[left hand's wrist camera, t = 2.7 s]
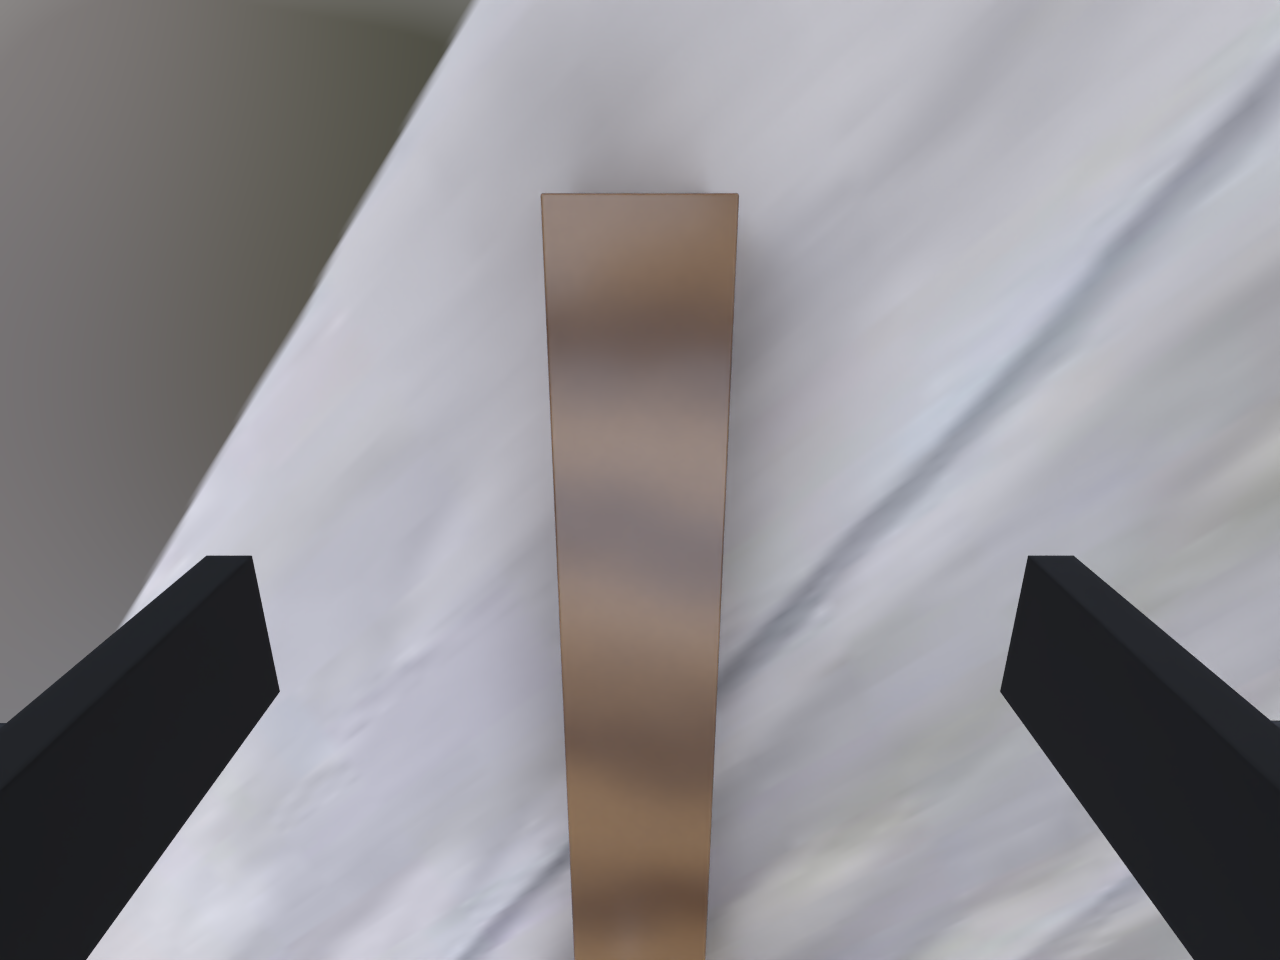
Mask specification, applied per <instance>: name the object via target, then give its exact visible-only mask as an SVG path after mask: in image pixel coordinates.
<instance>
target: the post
mask: <svg viewBox="0 0 1280 960" xmlns="http://www.w3.org/2000/svg"><path fill="white" fill-rule="evenodd" d="M738 206H739V194H737V193H542V194H541V213H542V236H543V258H544V281H545V304H546V326H547V349H548V372H549V394H550V417H551V440H552V462H553V485H554V508H555V530H556V553H557V575H558V598H559V621H560V643H561V666H562V689H563V711H564V734H565V757H566V779H567V802H568V825H569V847H570V870H571V893H572V915H573V938H574V960H705V956H706V933H707V911H708V888H709V865H710V842H711V820H712V797H713V774H714V751H715V729H716V706H717V683H718V660H719V638H720V615H721V592H722V570H723V547H724V524H725V501H726V479H727V456H728V433H729V410H730V388H731V365H732V342H733V319H734V297H735V274H736V251H737V229H738Z"/></svg>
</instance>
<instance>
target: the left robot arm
mask: <svg viewBox="0 0 1280 960" xmlns="http://www.w3.org/2000/svg"><path fill="white" fill-rule="evenodd" d="M279 692H280V690H279V685H278V681H277V676H276V671H275V666H274V661H273V656H272V651H271V647H270V642H269V637H268V632H267V627H266V622H265V617H264V612H263V608H262V603H261V598H260V593H259V588H258V583H257V578H256V574H255V569H254V564H253V559H252V556H206V557H204V558H203V559H202V560H201V561H200V562H198V563H197V564H196V565H195V566H194V567H192V568H191V569H190V570H189V571H188V572H186V573H185V574H184V575H183V576H182V577H181V578H179V579H178V580H177V581H176V582H175V583H173V584H172V585H171V586H170V587H169V588H167V589H166V590H165V591H164V592H163V593H161V594H160V595H159V596H158V597H157V598H155V599H154V600H153V601H152V602H151V603H149V604H148V605H147V606H146V607H145V608H143V609H142V610H141V611H140V612H139V613H138V614H136V615H135V616H134V617H133V618H132V619H130V620H129V621H128V622H127V623H126V624H124V625H123V626H122V627H121V628H120V629H118V630H117V631H116V632H115V633H114V634H112V635H111V636H110V637H109V638H108V639H106V640H105V641H104V642H103V643H102V644H100V645H99V646H98V647H97V648H96V649H94V650H93V651H92V652H91V653H90V654H89V655H87V656H86V657H85V658H84V659H83V660H81V661H80V662H79V663H78V664H77V665H75V666H74V667H73V668H72V669H71V670H69V671H68V672H67V673H66V674H65V675H63V676H62V677H61V678H60V679H59V680H57V681H56V682H55V683H54V684H53V685H51V686H50V687H49V688H48V689H47V690H45V691H44V692H43V693H42V694H41V695H40V696H38V697H37V698H36V699H35V700H34V701H32V702H31V703H30V704H29V705H28V706H26V707H25V708H24V709H23V710H22V711H20V712H19V713H18V714H17V715H16V716H14V717H13V718H12V719H11V720H10V721H8V722H7V723H0V960H86V959H87V958H88V956H89V955H90V954H91V952H92V951H93V949H94V948H95V947H96V945H97V944H98V943H99V941H100V940H101V938H102V937H103V936H104V934H105V933H106V931H107V930H108V929H109V927H110V926H111V925H112V923H113V922H114V920H115V919H116V918H117V916H118V915H119V913H120V912H121V911H122V909H123V908H124V907H125V905H126V904H127V902H128V901H129V900H130V898H131V897H132V896H133V894H134V893H135V891H136V890H137V889H138V887H139V886H140V884H141V883H142V882H143V880H144V879H145V878H146V876H147V875H148V873H149V872H150V871H151V869H152V868H153V866H154V865H155V864H156V862H157V861H158V860H159V858H160V857H161V855H162V854H163V853H164V851H165V850H166V848H167V847H168V846H169V844H170V843H171V842H172V840H173V839H174V837H175V836H176V835H177V833H178V832H179V830H180V829H181V828H182V826H183V825H184V824H185V822H186V821H187V819H188V818H189V817H190V815H191V814H192V812H193V811H194V810H195V808H196V807H197V806H198V804H199V803H200V801H201V800H202V799H203V797H204V796H205V794H206V793H207V792H208V790H209V789H210V788H211V786H212V785H213V783H214V782H215V781H216V779H217V778H218V776H219V775H220V774H221V772H222V771H223V770H224V768H225V767H226V765H227V764H228V763H229V761H230V760H231V758H232V757H233V756H234V754H235V753H236V752H237V750H238V749H239V747H240V746H241V745H242V743H243V742H244V740H245V739H246V738H247V736H248V735H249V734H250V732H251V731H252V729H253V728H254V727H255V725H256V724H257V722H258V721H259V720H260V718H261V717H262V716H263V714H264V713H265V711H266V710H267V709H268V707H269V706H270V704H271V703H272V702H273V700H274V699H275V698H276V696H277V695H278V693H279ZM1000 692H1001V693H1002V695H1003V696H1004V698H1005V699H1006V700H1007V702H1008V703H1009V704H1010V706H1011V707H1012V709H1013V710H1014V711H1015V713H1016V714H1017V716H1018V717H1019V718H1020V720H1021V721H1022V722H1023V724H1024V725H1025V727H1026V728H1027V729H1028V731H1029V732H1030V734H1031V735H1032V736H1033V738H1034V739H1035V740H1036V742H1037V743H1038V745H1039V746H1040V747H1041V749H1042V750H1043V752H1044V753H1045V754H1046V756H1047V757H1048V758H1049V760H1050V761H1051V763H1052V764H1053V765H1054V767H1055V768H1056V770H1057V771H1058V772H1059V774H1060V775H1061V776H1062V778H1063V779H1064V781H1065V782H1066V783H1067V785H1068V786H1069V788H1070V789H1071V790H1072V792H1073V793H1074V794H1075V796H1076V797H1077V799H1078V800H1079V801H1080V803H1081V804H1082V806H1083V807H1084V808H1085V810H1086V811H1087V812H1088V814H1089V815H1090V817H1091V818H1092V819H1093V821H1094V822H1095V824H1096V825H1097V826H1098V828H1099V829H1100V830H1101V832H1102V833H1103V835H1104V836H1105V837H1106V839H1107V840H1108V842H1109V843H1110V844H1111V846H1112V847H1113V848H1114V850H1115V851H1116V853H1117V854H1118V855H1119V857H1120V858H1121V860H1122V861H1123V862H1124V864H1125V865H1126V866H1127V868H1128V869H1129V871H1130V872H1131V873H1132V875H1133V876H1134V878H1135V879H1136V880H1137V882H1138V883H1139V884H1140V886H1141V887H1142V889H1143V890H1144V891H1145V893H1146V894H1147V896H1148V897H1149V898H1150V900H1151V901H1152V902H1153V904H1154V905H1155V907H1156V908H1157V909H1158V911H1159V912H1160V913H1161V915H1162V916H1163V918H1164V919H1165V920H1166V922H1167V923H1168V925H1169V926H1170V927H1171V929H1172V930H1173V931H1174V933H1175V934H1176V936H1177V937H1178V938H1179V940H1180V941H1181V943H1182V944H1183V945H1184V947H1185V948H1186V949H1187V951H1188V952H1189V954H1190V955H1191V956H1192V958H1193V959H1194V960H1280V721H1270V720H1269V719H1268V718H1267V717H1266V716H1264V715H1263V714H1262V713H1261V712H1260V711H1258V710H1257V709H1256V708H1255V707H1254V706H1252V705H1251V704H1250V703H1249V702H1248V701H1246V700H1245V699H1244V698H1243V697H1242V696H1240V695H1239V694H1238V693H1237V692H1236V691H1235V690H1233V689H1232V688H1231V687H1230V686H1229V685H1227V684H1226V683H1225V682H1224V681H1223V680H1221V679H1220V678H1219V677H1218V676H1217V675H1215V674H1214V673H1213V672H1212V671H1211V670H1209V669H1208V668H1207V667H1206V666H1205V665H1203V664H1202V663H1201V662H1200V661H1199V660H1197V659H1196V658H1195V657H1194V656H1193V655H1191V654H1190V653H1189V652H1188V651H1187V650H1186V649H1184V648H1183V647H1182V646H1181V645H1180V644H1178V643H1177V642H1176V641H1175V640H1174V639H1172V638H1171V637H1170V636H1169V635H1168V634H1166V633H1165V632H1164V631H1163V630H1162V629H1160V628H1159V627H1158V626H1157V625H1156V624H1154V623H1153V622H1152V621H1151V620H1150V619H1148V618H1147V617H1146V616H1145V615H1144V614H1142V613H1141V612H1140V611H1139V610H1138V609H1137V608H1135V607H1134V606H1133V605H1132V604H1131V603H1129V602H1128V601H1127V600H1126V599H1125V598H1123V597H1122V596H1121V595H1120V594H1119V593H1117V592H1116V591H1115V590H1114V589H1113V588H1111V587H1110V586H1109V585H1108V584H1107V583H1105V582H1104V581H1103V580H1102V579H1101V578H1099V577H1098V576H1097V575H1096V574H1095V573H1094V572H1092V571H1091V570H1090V569H1089V568H1088V567H1086V566H1085V565H1084V564H1083V563H1082V562H1080V561H1079V560H1078V559H1077V558H1076V557H1074V556H1028V559H1027V564H1026V569H1025V574H1024V578H1023V583H1022V588H1021V593H1020V598H1019V603H1018V608H1017V612H1016V617H1015V622H1014V627H1013V632H1012V637H1011V642H1010V647H1009V651H1008V656H1007V661H1006V666H1005V671H1004V676H1003V681H1002V685H1001V690H1000Z"/></svg>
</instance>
